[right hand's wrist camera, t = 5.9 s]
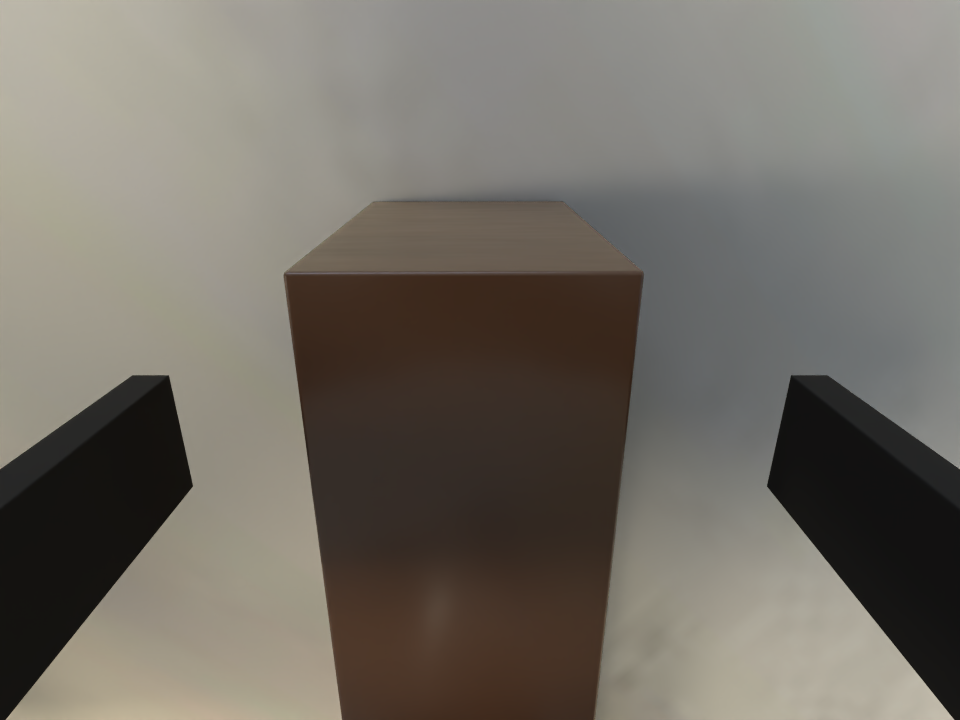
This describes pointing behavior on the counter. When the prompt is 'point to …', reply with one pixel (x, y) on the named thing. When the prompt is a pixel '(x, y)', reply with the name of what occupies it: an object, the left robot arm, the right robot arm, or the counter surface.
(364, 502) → the plank
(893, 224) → the counter surface
